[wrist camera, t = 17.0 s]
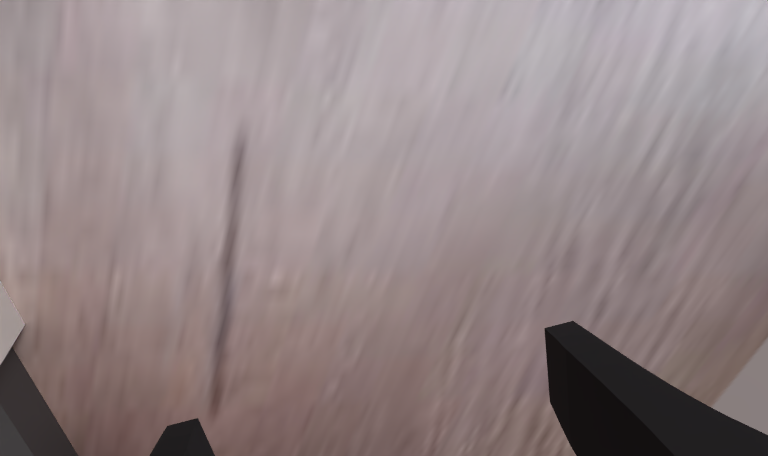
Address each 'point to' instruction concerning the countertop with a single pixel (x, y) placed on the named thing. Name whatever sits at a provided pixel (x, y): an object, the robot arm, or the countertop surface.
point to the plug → (23, 399)
